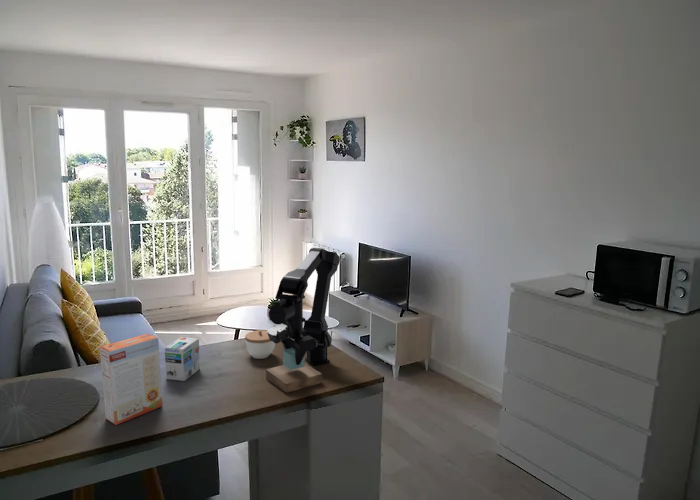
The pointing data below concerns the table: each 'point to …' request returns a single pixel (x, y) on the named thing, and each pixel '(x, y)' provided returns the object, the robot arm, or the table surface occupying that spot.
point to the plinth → (293, 377)
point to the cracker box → (131, 377)
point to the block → (291, 359)
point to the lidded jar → (259, 344)
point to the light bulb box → (182, 358)
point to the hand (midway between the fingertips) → (293, 362)
